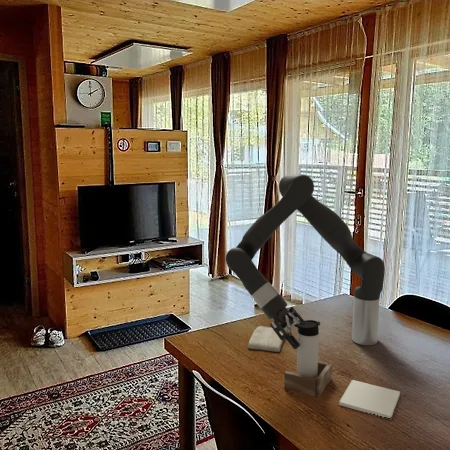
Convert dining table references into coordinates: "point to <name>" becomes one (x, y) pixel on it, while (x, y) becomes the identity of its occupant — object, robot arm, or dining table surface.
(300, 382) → the walnut cubby
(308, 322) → the travel mug
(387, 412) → the white mat
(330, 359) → the dining table surface
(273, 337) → the washcloth
